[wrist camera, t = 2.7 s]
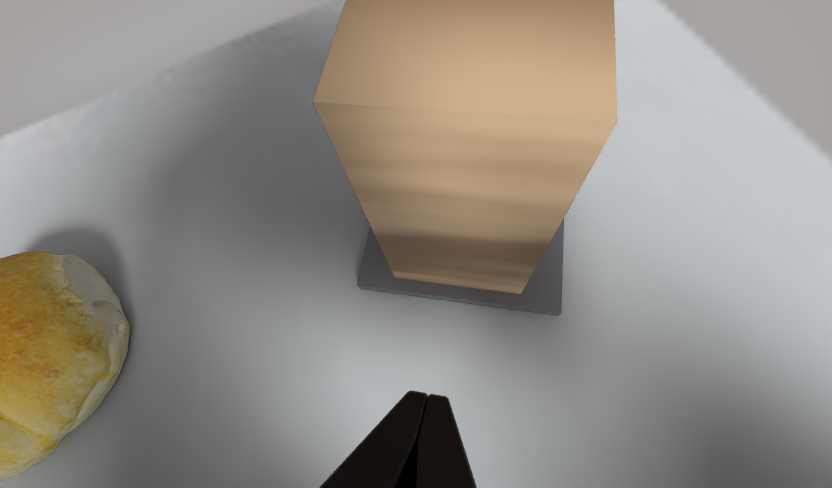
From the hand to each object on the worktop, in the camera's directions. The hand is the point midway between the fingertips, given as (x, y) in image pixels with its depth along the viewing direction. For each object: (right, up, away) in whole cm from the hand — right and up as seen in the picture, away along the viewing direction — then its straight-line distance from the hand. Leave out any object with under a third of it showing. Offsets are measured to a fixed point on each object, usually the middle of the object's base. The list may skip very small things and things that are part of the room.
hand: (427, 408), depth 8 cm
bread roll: (-16, -2, +9) cm, 19 cm away
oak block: (+2, +4, +8) cm, 9 cm away
